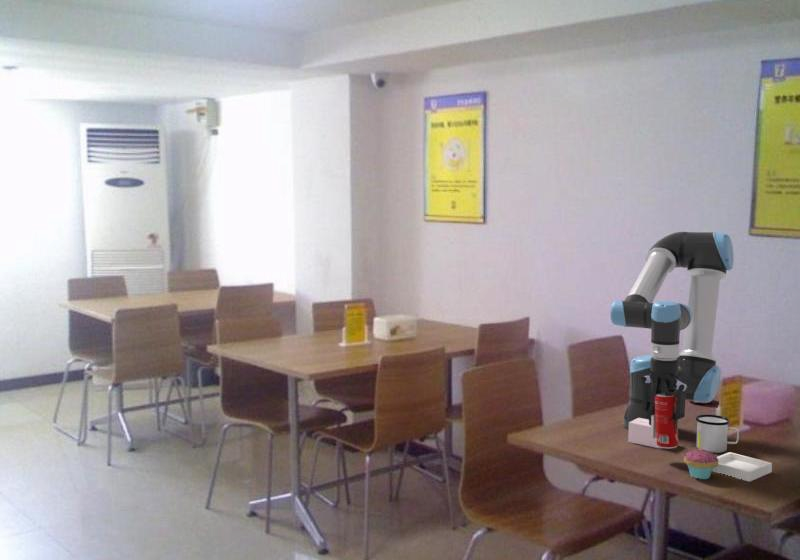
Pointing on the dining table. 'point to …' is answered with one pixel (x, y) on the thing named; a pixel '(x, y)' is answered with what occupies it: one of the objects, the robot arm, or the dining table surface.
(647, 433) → the tissue box
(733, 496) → the dining table surface
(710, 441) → the mug
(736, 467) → the tray
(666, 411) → the beverage can
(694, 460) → the cupcake
